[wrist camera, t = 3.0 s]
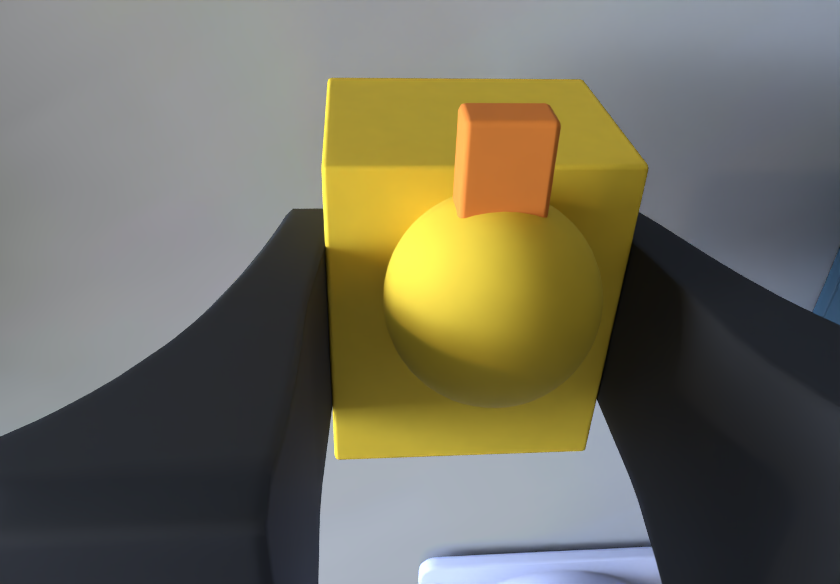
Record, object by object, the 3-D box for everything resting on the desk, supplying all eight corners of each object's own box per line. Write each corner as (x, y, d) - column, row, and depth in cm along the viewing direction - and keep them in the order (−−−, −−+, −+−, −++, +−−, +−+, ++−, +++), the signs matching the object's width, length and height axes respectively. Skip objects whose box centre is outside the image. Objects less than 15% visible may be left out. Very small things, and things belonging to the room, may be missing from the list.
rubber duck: (543, 330, 15) (628, 572, 10) (337, 334, 14) (331, 587, 10) (594, 11, 11) (755, 169, 7) (324, 8, 11) (308, 169, 6)
